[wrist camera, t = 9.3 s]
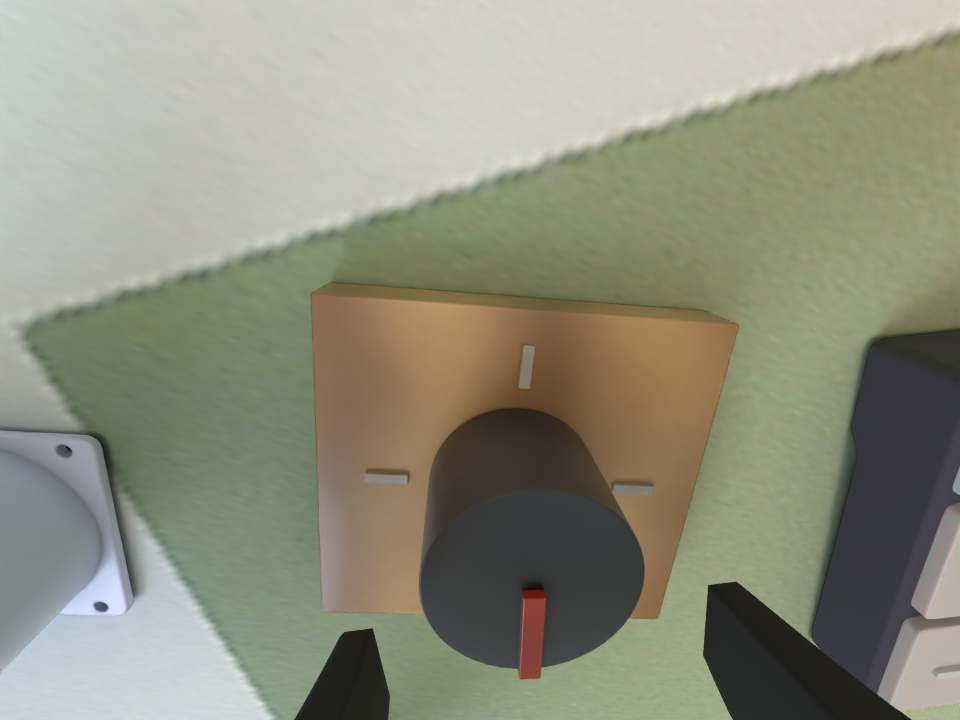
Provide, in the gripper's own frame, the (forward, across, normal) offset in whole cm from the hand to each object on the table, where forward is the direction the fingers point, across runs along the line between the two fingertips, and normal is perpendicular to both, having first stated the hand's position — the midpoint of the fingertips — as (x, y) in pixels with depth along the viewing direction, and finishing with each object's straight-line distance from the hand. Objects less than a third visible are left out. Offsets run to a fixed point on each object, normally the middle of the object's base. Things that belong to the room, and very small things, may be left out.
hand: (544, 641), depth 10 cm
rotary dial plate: (+8, 0, 0) cm, 8 cm away
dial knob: (+6, 0, 0) cm, 6 cm away
